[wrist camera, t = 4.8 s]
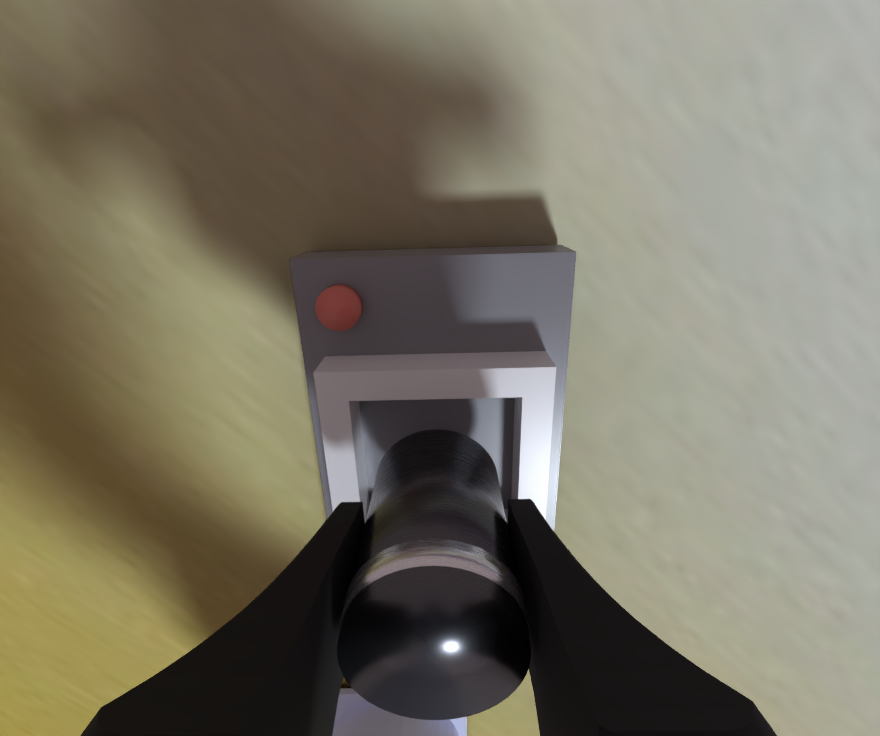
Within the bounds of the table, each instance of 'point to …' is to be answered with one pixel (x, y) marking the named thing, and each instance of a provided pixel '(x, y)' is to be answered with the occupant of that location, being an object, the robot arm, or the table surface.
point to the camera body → (437, 359)
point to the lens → (435, 586)
